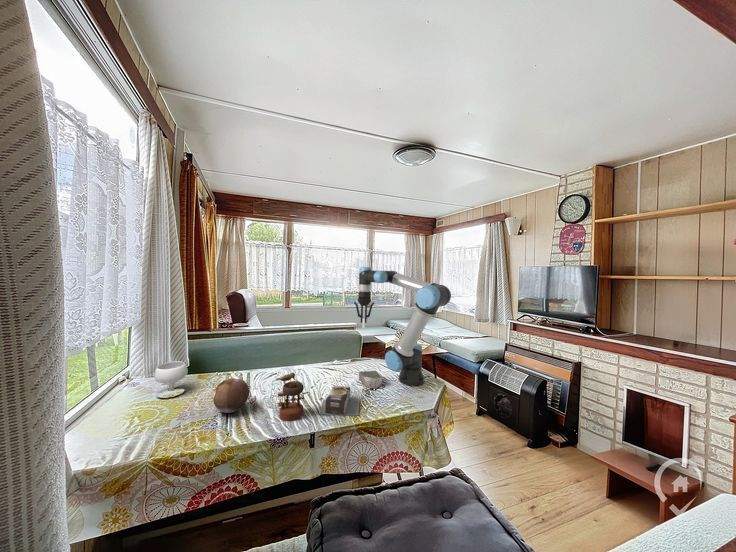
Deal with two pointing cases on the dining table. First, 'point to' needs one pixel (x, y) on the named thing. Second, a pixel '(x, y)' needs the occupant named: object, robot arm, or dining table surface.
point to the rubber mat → (350, 410)
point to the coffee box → (337, 400)
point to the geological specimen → (370, 379)
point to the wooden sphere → (231, 395)
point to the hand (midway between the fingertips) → (363, 327)
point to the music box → (291, 409)
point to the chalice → (171, 373)
